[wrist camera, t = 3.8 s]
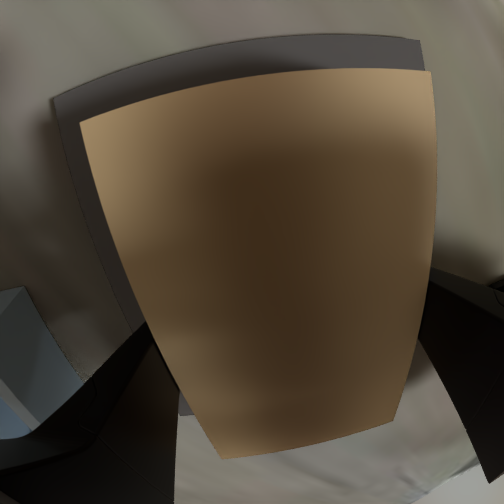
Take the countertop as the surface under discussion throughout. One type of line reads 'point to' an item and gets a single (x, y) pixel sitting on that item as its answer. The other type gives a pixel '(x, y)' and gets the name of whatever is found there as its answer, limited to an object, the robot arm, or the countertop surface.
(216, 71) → the mat
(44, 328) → the dish
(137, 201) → the board
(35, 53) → the countertop surface
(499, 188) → the countertop surface
